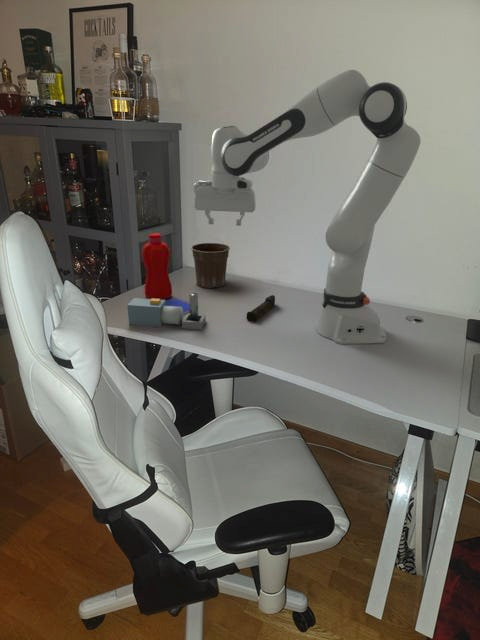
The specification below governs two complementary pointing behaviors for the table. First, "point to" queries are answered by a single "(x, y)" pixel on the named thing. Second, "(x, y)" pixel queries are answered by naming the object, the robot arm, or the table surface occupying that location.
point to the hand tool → (261, 309)
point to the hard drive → (179, 304)
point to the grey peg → (193, 306)
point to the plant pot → (210, 264)
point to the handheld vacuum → (160, 314)
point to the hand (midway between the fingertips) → (224, 224)
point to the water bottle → (156, 268)
